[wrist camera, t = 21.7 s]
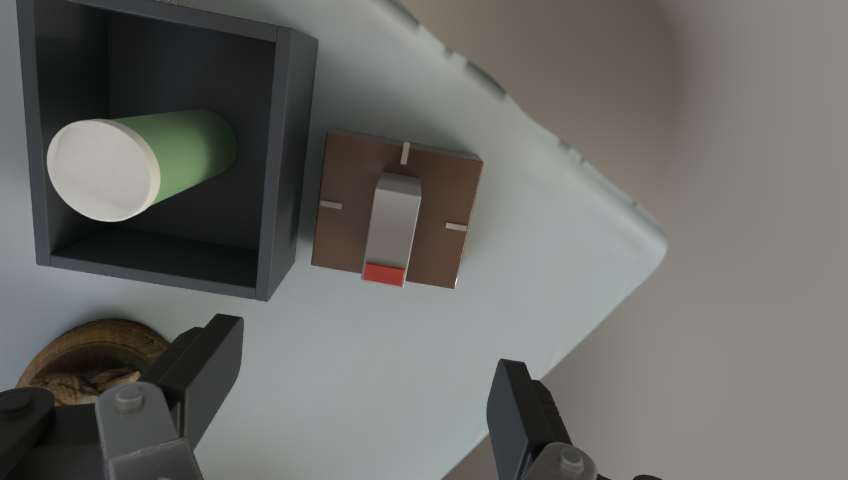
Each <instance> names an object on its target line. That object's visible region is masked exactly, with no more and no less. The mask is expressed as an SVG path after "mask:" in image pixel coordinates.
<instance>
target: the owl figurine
mask: <svg viewBox="0 0 848 480" xmlns="http://www.w3.org/2000/svg"><path fill="white" fill-rule="evenodd" d="M167 347H170V343H168V342H167V341H166V340H165V339H164V338H162V337H161V335H159V334H158V333H157V332H155V331H153V330H151V329H150V328H148V327H146V326H144V325H142V324H139V323H136V322H132V321H127V320H124V319H101V320H97V321H93V322H89V323H86V324H83V325H81V326H78V327H75V328H73V329H72V330H70V331H68V332H66V333H64V334H63V335H61V336H60V337H58V338H57V339H55V340H54V341H53V342H52V343H50V344H49V345H48V346H47V347H45V348H44V349H43V350H42V351H41V352H40V353H39V354H38V355H37V356H36V357H35V358H34V359H33V360H32V361H31V363H30V364H29V366H28V367H27V369H26V370H25V372H24V373H23V375H22V376H21V378H20V380H19V381H18V384H17V386H16V388H22V387H39V388H44V389H47V390H49V391H51V392H52V393H53V394H54V396H55V406H61V405H75V404H88V403H95V402H96V400H97V399H98V397H99V396H100V395H101V394H102V393H104V392H105V391H107V390H108V389H110V388H112V387H114V386H117V385H120V384H124V383H129V382H135V381H136V380H137V379H138V378H139V377H140V376H141V375H142V374H143V373H144V372H145V371H146V370H147V369H148V368H149V367H150V365H151V364H152V363H153V362H154V361H155V360H156V359H157V358H158V357H159V356H160V355H162V353H163V352H164V351H165V350H166V348H167ZM16 388H15V389H16Z"/></svg>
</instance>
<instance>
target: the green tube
mask: <svg viewBox="0 0 848 480" xmlns="http://www.w3.org/2000/svg"><path fill="white" fill-rule="evenodd" d="M236 155H237V139H236V136H235V133H234V131H233V129H232V127H231V126H230V125H229V123H228V122H227V121H226V120H225V119H224V118H223V117H221V116H220V115H218V114H216V113H214V112H212V111H209V110H204V109H194V110H186V111H177V112H169V113H161V114H152V115H144V116H136V117H127V118H119V119H111V120H106V119H91V120H82V121H77V122H74V123H71V124H69V125H67V126H65V127H64V128H62V129H61V130H60V131H59V132H58V133H57V134H56V135H55V136H54V138H53V139H52V141H51V143H50V146H49V149H48V153H47V168H48V173H49V176H50V179H51V182H52V184H53V186H54V188H55V189H56V191H57V192H58V194H59V195H60V196H61V197H62V199H63V200H64V201H65V202H66V203H67V204H68V205H69V206H71V207H72V208H73V209H75V210H76V211H78V212H79V213H81V214H83V215H85V216H87V217H90V218H92V219H96V220H100V221H107V222H115V221H122V220H125V219H128V218H130V217H133V216H135V215H137V214H139V213H141V212H143V211H144V210H146V209H147V208H148V207H149V206H151V205H153V204H155V203H157V202H160V201H162V200H164V199H166V198H168V197H171V196H173V195H175V194H177V193H179V192H181V191H184V190H186V189H188V188H190V187H192V186H194V185H197V184H199V183H201V182H203V181H205V180H207V179H210V178H212V177H214V176H216V175H218V174H220V173H223V172H224V171H226V170H227V169H228V168H229V167H230V166H231V165H232V164H233V162H234V160H235V158H236Z"/></svg>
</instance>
